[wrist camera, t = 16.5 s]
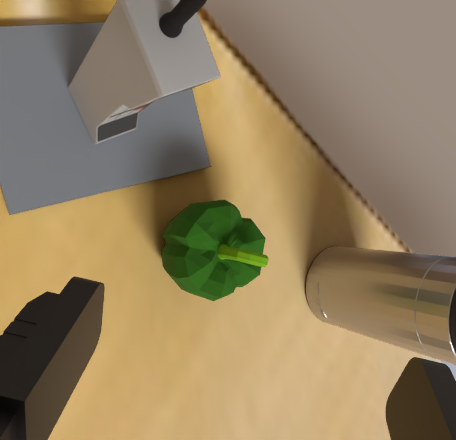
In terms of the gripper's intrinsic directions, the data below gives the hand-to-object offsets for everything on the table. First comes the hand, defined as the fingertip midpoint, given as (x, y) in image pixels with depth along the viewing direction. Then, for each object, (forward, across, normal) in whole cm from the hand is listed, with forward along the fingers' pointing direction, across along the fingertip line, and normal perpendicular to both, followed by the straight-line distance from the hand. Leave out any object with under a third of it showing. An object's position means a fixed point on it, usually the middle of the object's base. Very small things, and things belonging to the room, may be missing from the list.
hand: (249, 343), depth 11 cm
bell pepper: (+26, +4, +14) cm, 30 cm away
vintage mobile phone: (+26, +14, +3) cm, 30 cm away
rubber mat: (+27, +14, +3) cm, 31 cm away
